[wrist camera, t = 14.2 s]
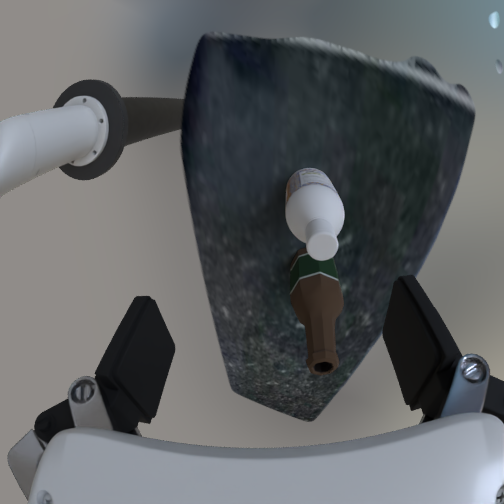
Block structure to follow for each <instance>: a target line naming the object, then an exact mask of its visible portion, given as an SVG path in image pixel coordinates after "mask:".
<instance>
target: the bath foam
mask: <svg viewBox="0 0 504 504" xmlns="http://www.w3.org/2000/svg"><path fill="white" fill-rule="evenodd" d="M285 216H286V220H287V224H288V226H289V228H290V230H291V232H292V233H293V234H294V235H295V236H296V237H297V238H298V239H299V240H301V241H302V242H305V243H306V248H307V252H308V254H309V255H310V256H311V257H312V258H314V259H316V260H319V261H324V260H328V259H330V258H332V257H333V256H334V255H335V254H336V252H337V250H338V241H337V238H336V236H337V235H338V234H339V232H340V230H341V228H342V226H343V223H344V207H343V204H342V202H341V199H340V197H339V195H338V193H337V192H336V190H335V188H334V186H333V185H332V183H331V181H330V180H329V178H328V177H327V176H326V175H325V174H324V173H323V172H321V171H320V170H317V169H314V168H305V169H301V170H299V171H297V172H296V173H294V174H293V175H292V176H291V177H290V179H289V181H288V183H287V187H286V207H285Z"/></svg>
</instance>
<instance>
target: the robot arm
mask: <svg viewBox="0 0 504 504" xmlns="http://www.w3.org/2000/svg"><path fill="white" fill-rule="evenodd" d="M108 132H109V123H108V117H107V114H106V111H105V109H104V107H103V106H102V104H101V103H100V102H99V101H98V100H96V99H95V98H93V97H90V96H78V97H74V98H73V99H71V100H69V101H68V102H67V103H66V104H65V105H64V106H63V107H59V108H53V109H47V110H41V111H36V112H31V113H27V114H22V115H18V116H13V117H9V118H7V119H4V120H3V121H1V122H0V197H2V196H3V195H5V194H6V193H7V192H9V191H11V190H13V189H14V188H16V187H18V186H20V185H22V184H24V183H26V182H28V181H30V180H32V179H34V178H36V177H38V176H40V175H42V174H44V173H46V172H49V171H51V170H53V169H55V168H57V167H60V166H62V165H65V164H67V163H69V164H71V165H74V166H84V165H87V164H89V163H91V162H93V161H94V160H96V159H97V158H98V157H99V155H100V154H101V153H102V151H103V149H104V147H105V145H106V142H107V139H108ZM382 333H383V339H384V341H385V344H386V347H387V349H388V352H389V355H390V358H391V361H392V364H393V366H394V370H395V372H396V375H397V379H398V381H399V385H400V388H401V391H402V394H403V398H404V401H405V403H406V405H410V409H411V411H413V410H416V409H419V408H421V409H422V412H423V417H422V419H421V421H420V423H419V424H418V425H415V426H412V427H408V428H404V429H401V430H397V431H392V432H388V433H384V434H379V435H375V436H370V437H366V438H360V439H355V440H349V441H343V442H336V443H329V444H320V445H311V446H299V447H283V448H230V447H214V446H213V447H212V446H202V445H201V446H200V445H192V444H184V443H176V442H169V441H164V440H158V439H152V438H146V437H142V435H141V434H140V431H139V430H138V427H137V426H138V422H143V423H148V424H150V423H151V419H152V418H154V417H155V416H156V413H157V409H158V406H159V403H160V399H161V396H162V392H163V389H164V385H165V382H166V379H167V376H168V372H169V369H170V366H171V363H172V359H173V356H174V353H175V344H174V342H173V339H172V337H171V335H170V333H169V331H168V329H167V326H166V324H165V322H164V320H163V318H162V315H161V313H160V311H159V308H158V306H157V304H156V302H155V300H153V299H151V297H150V296H137V297H135V298H134V300H133V302H132V303H131V305H130V307H129V309H128V310H127V313H126V314H125V316H124V318H123V319H122V321H121V323H120V325H119V327H118V329H117V330H116V332H115V334H114V336H113V338H112V340H111V342H110V344H109V346H108V348H107V350H106V351H105V354H104V355H103V357H102V359H101V361H100V364H99V365H98V367H97V370H96V372H95V374H96V376H95V378H92V377H90V376H83V377H80V378H78V379H77V380H75V381H74V382H73V383H72V384H71V386H70V388H69V391H68V399H66V400H65V401H63V402H61V403H59V404H57V405H55V406H53V407H51V408H50V409H48V410H46V411H44V412H42V413H41V414H40V415H39V416H38V417H37V419H36V421H35V425H34V428H35V430H32V429H31V430H30V431H29V432H28V433H27V434H26V435H25V436H24V437H23V438H22V439H21V440H20V441H19V442H18V443H17V444H16V445H15V446H14V447H13V448H12V449H11V450H10V451H9V453H8V464H9V466H10V468H11V470H12V472H13V475H14V476H15V479H16V480H17V482H18V484H19V486H20V488H21V490H22V491H23V493H24V495H25V497H26V498H27V500H28V504H504V381H502V380H500V379H498V378H495V377H493V376H491V375H490V369H489V366H488V364H487V362H486V361H485V360H484V359H483V358H482V357H481V356H479V355H477V354H466V355H464V356H462V354H461V352H460V351H459V349H458V347H457V345H456V343H455V341H454V339H453V337H452V336H451V334H450V332H449V330H448V329H447V327H446V325H445V323H444V322H443V320H442V318H441V317H440V315H439V313H438V312H437V310H436V309H435V307H434V306H433V305H432V303H431V301H430V300H429V298H428V296H427V295H426V293H425V292H424V290H423V289H422V287H421V286H420V284H419V283H418V281H417V280H416V278H415V277H414V276H413V275H407V276H400V277H399V278H398V280H397V281H395V282H394V284H393V289H392V294H391V298H390V303H389V307H388V311H387V315H386V319H385V323H384V327H383V332H382Z"/></svg>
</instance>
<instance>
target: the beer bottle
mask: <svg viewBox="0 0 504 504" xmlns="http://www.w3.org/2000/svg"><path fill="white" fill-rule="evenodd" d="M290 298H291V304H292V306H293V308H294V311H295V313H296V315H297V317H298V319H299V321H300V323H301V324H303V325H304V326H305V330H306V339H307V348H308V357H309V358H308V359H307V360H306V363H307V366H308V368H309V370H310V372H311V373H313V374H317V375H320V376H321V375H325V374H330V373H332V372H333V371H334V370H335V369H336V368H337V367H338V364H339V359H338V356H337V354H336V344H335V319H336V318H337V317H338V316H339V314H340V313H341V312H342V309H343V305H344V302H343V294H342V290H341V286H340V282H339V277H338V273H337V269H336V265H335V262H334V259H333V257H332V258H330V259H328V260H324V261H319V260H316V259H314V258H312V257H311V256H310V255H309V254H308V252H307V248H303V249H300V250H298V252H297V253H296V255H295V257H294V259H293V261H292V262H291V276H290Z"/></svg>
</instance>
